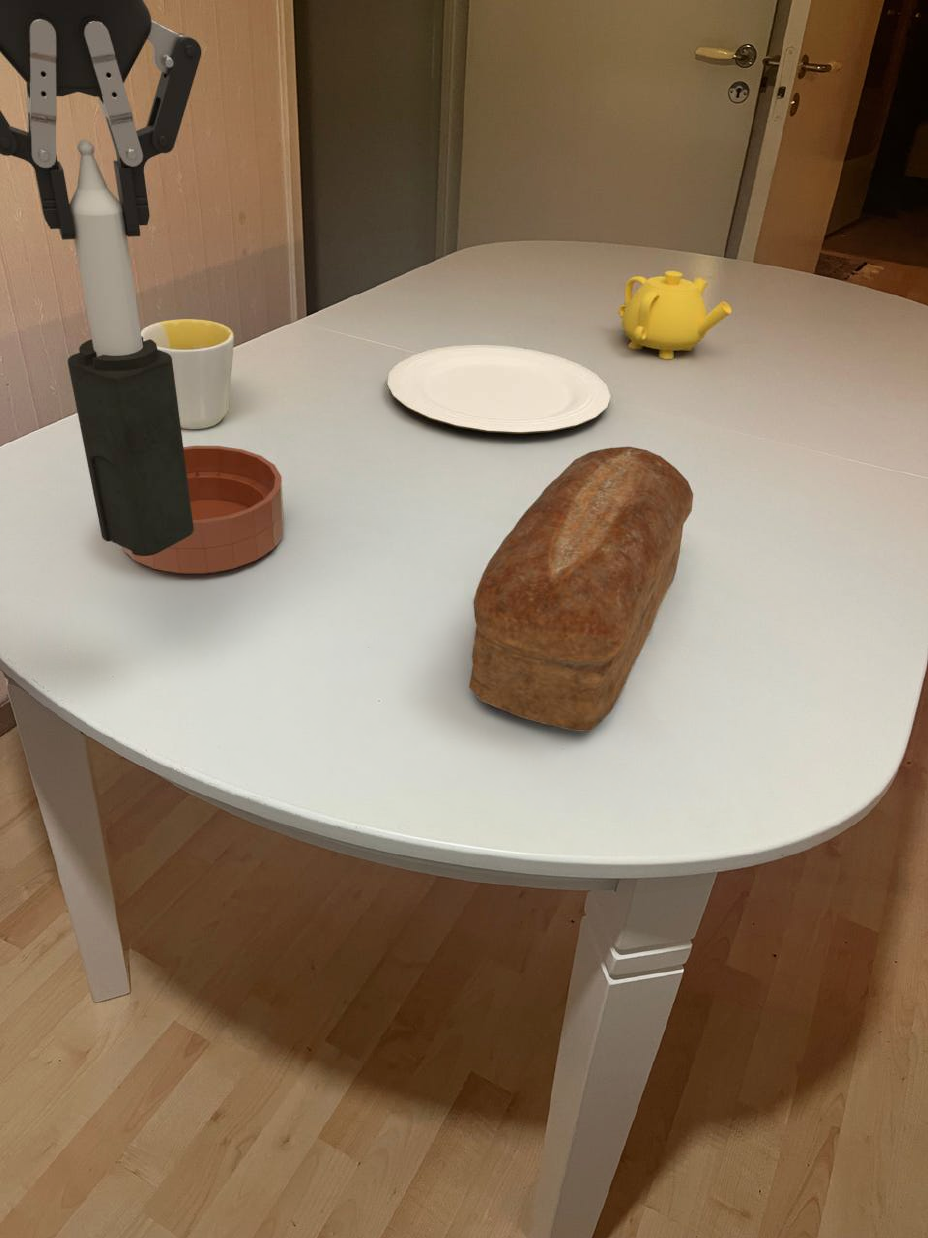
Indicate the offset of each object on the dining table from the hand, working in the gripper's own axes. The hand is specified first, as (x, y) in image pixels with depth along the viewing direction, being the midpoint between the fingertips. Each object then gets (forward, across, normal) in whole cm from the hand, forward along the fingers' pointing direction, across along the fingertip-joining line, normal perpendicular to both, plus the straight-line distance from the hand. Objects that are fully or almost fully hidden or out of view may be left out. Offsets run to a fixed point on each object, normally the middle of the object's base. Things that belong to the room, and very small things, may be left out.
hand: (99, 233), depth 53 cm
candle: (+20, 0, 0) cm, 20 cm away
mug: (+33, -12, -47) cm, 59 cm away
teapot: (+33, -84, -53) cm, 104 cm away
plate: (+33, -50, -42) cm, 73 cm away
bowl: (+33, -7, -19) cm, 39 cm away
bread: (+33, -34, +6) cm, 48 cm away
